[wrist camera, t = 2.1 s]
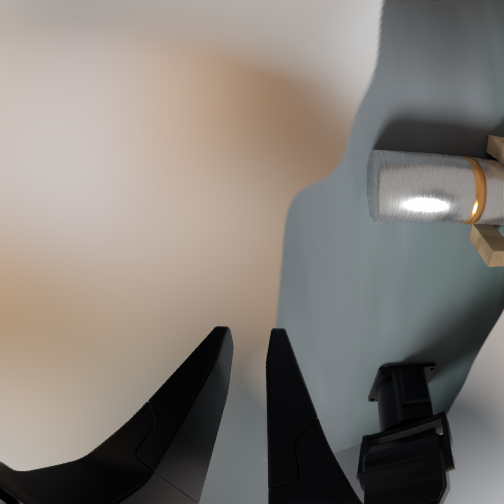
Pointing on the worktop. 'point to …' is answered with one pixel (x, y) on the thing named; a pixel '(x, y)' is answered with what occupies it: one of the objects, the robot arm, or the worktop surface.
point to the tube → (434, 188)
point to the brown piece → (484, 235)
